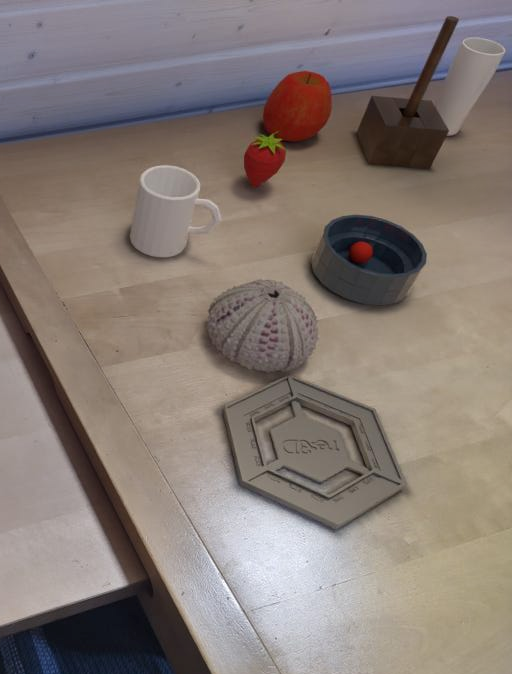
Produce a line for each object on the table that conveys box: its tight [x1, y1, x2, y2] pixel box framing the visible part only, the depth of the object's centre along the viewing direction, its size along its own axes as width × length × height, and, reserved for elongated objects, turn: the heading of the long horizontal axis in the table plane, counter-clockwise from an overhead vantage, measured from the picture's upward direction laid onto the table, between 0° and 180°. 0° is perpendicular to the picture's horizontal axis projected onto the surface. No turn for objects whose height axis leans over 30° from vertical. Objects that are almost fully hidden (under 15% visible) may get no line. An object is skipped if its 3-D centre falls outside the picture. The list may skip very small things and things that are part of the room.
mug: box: [129, 164, 223, 258], centre depth 98 cm, size 8×12×10 cm
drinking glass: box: [434, 36, 506, 137], centre depth 122 cm, size 7×7×15 cm
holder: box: [355, 95, 449, 170], centre depth 119 cm, size 10×10×7 cm
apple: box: [262, 70, 333, 143], centre depth 121 cm, size 11×11×11 cm
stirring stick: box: [402, 15, 460, 117], centre depth 114 cm, size 2×2×22 cm
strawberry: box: [243, 131, 287, 188], centre depth 109 cm, size 6×8×10 cm
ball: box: [349, 242, 373, 264], centre depth 99 cm, size 3×3×3 cm
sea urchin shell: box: [206, 278, 320, 373], centre depth 86 cm, size 13×14×8 cm
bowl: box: [310, 214, 428, 306], centre depth 97 cm, size 13×13×6 cm
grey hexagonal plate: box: [222, 373, 407, 530], centre depth 78 cm, size 17×20×1 cm
